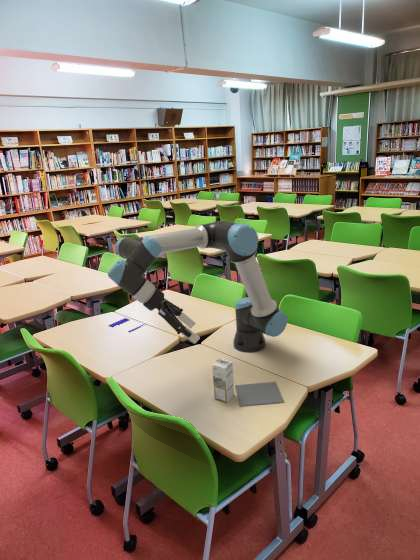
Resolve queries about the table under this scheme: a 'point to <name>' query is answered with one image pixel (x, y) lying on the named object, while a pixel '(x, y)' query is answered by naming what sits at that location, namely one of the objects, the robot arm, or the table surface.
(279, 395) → the mat
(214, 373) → the syrup box
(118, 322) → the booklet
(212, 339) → the table surface
